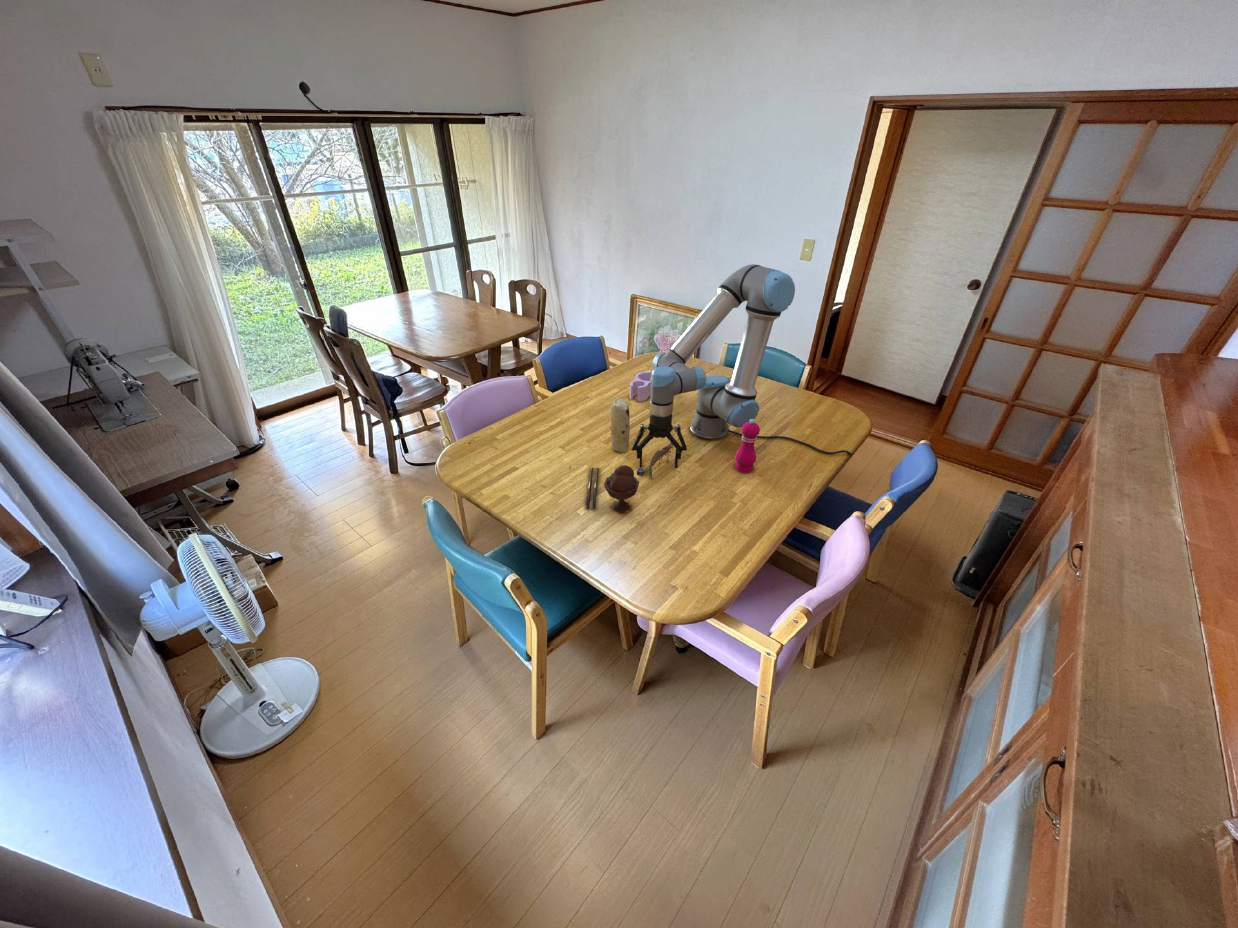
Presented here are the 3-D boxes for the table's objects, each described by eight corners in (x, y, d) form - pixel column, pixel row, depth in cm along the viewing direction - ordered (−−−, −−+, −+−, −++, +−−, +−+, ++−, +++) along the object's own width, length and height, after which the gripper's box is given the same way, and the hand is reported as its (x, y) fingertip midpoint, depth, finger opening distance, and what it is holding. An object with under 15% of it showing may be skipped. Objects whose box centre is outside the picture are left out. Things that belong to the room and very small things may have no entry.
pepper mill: (742, 475, 170) (751, 426, 159) (729, 465, 175) (737, 417, 164) (758, 470, 173) (768, 421, 162) (745, 460, 178) (753, 412, 167)
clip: (646, 403, 217) (646, 389, 213) (622, 397, 223) (622, 383, 219) (666, 387, 231) (667, 374, 227) (644, 382, 237) (644, 368, 233)
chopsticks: (598, 469, 174) (598, 467, 173) (595, 509, 155) (594, 507, 154) (590, 469, 174) (590, 467, 173) (586, 509, 155) (585, 507, 154)
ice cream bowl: (603, 497, 160) (602, 460, 151) (636, 496, 160) (637, 458, 152) (605, 518, 151) (604, 479, 142) (640, 516, 152) (641, 477, 143)
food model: (633, 452, 183) (634, 405, 172) (617, 456, 181) (616, 408, 170) (623, 440, 190) (623, 394, 179) (607, 443, 188) (606, 397, 177)
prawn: (662, 447, 186) (663, 432, 182) (689, 457, 180) (690, 441, 176) (625, 478, 169) (625, 461, 165) (653, 489, 163) (653, 472, 159)
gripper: (695, 407, 165) (690, 460, 177) (625, 407, 165) (624, 459, 177) (698, 418, 159) (692, 472, 171) (625, 417, 159) (624, 471, 171)
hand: (658, 465), depth 174 cm, fingers open, 12 cm apart
